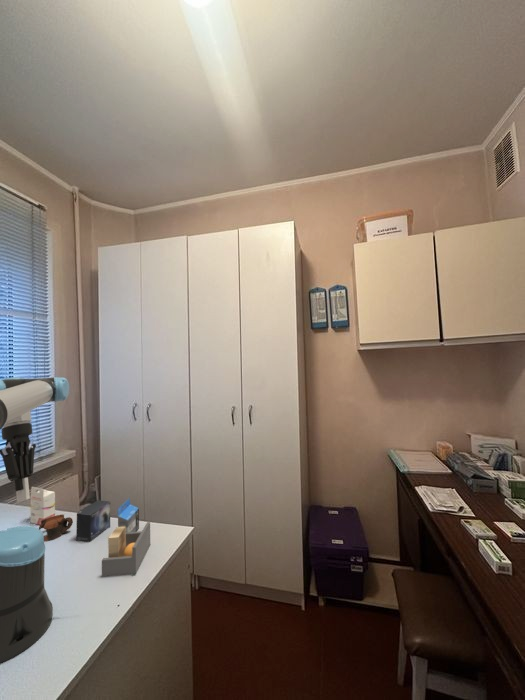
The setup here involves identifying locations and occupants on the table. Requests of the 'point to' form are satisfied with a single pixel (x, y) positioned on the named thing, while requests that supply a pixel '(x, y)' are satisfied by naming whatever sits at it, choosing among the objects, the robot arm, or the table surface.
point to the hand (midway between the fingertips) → (23, 500)
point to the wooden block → (117, 542)
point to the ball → (128, 550)
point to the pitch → (129, 563)
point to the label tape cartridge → (128, 517)
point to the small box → (93, 521)
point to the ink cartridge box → (42, 505)
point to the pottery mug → (55, 526)
